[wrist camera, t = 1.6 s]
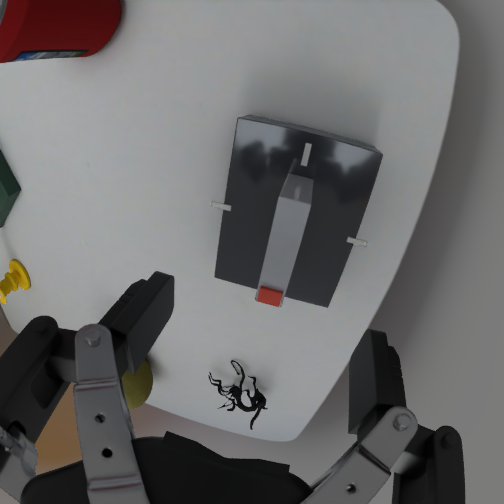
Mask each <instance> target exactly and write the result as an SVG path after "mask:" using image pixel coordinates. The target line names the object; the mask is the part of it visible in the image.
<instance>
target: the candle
mask: <svg viewBox="0 0 504 504" xmlns="http://www.w3.org/2000/svg"><path fill="white" fill-rule="evenodd" d="M9 269H10V273H9V272H7V273H5V279H4V280H2V281H1V282H0V302H2V303H3V304H6V298H5V297H6V295H7V294H9V293H10V292H11V290H13V291H17V290H18V285H19V286H20V287H21V288H22V289H25V290H27V289H28V288H30V278H29V276H28V274H27V272H26V270H25V268H24V267H23V266H22V265H21V264H20V263H19V262H18V261H17V260H11V261H10V262H9Z"/></svg>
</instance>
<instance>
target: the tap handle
mask: <svg viewBox="0 0 504 504" xmlns="http://www.w3.org/2000/svg"><path fill="white" fill-rule="evenodd" d="M313 182H314V180H313V179H309V178H306V177H302V176H298V175H294V174H290V173H289V174H288V176H287V178H286V180H285V183H284V185H283V187H282V190H281V192H280V195H279V197H278V201H277V206H276V210H275V215H274V219H273V224H272V228H271V232H270V237H269V241H268V245H267V250H266V254H265V258H264V263H263V267H262V271H261V276H260V280H259V284H258V288H257V293H256V297H255V300H256V301H258V302H262V303H266V304H269V305H273V306H277V307H281V306H282V303H283V300H284V297H285V294H286V291H287V287H288V284H289V281H290V277H291V274H292V271H293V267H294V264H295V261H296V257H297V254H298V251H299V247H300V244H301V240H302V237H303V233H304V230H305V226H306V223H307V219H308V216H309V212H310V208H311V203H312V193H313Z"/></svg>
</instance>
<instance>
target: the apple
mask: <svg viewBox="0 0 504 504" xmlns="http://www.w3.org/2000/svg"><path fill="white" fill-rule="evenodd" d="M122 380H123V385H124V390H125V395H126V399H127V404H128V408H129V409H134V408H137V407H139V406H140V405H142V404H143V403H144V402H145V401H146V400H147V398H148V397H149V395H150V393H151V390H152V385H153V374H152V371H151V368H150V366H149V364H148V363H147V361H146V360H145V359H144V360H143V362H142V363H141V365H140V367H139V368H138V370H137V372H136V373H135V374H133V373H131V372H129V371H126V372H125V373H124V375H123V377H122Z"/></svg>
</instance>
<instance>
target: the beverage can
mask: <svg viewBox="0 0 504 504" xmlns="http://www.w3.org/2000/svg"><path fill="white" fill-rule="evenodd" d="M120 15H121V3H120V0H0V63H6V62H15V61H24V60H35V59H49V58H69V57H87V56H90V55H92V54H94V53H96V52H98V51H99V50H100V49H102V48H103V47H104V46H105V45H106V44H107V42H108V41H109V40H110V39H111V37H112V36H113V34H114V32H115V30H116V28H117V26H118V23H119V20H120Z"/></svg>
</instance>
